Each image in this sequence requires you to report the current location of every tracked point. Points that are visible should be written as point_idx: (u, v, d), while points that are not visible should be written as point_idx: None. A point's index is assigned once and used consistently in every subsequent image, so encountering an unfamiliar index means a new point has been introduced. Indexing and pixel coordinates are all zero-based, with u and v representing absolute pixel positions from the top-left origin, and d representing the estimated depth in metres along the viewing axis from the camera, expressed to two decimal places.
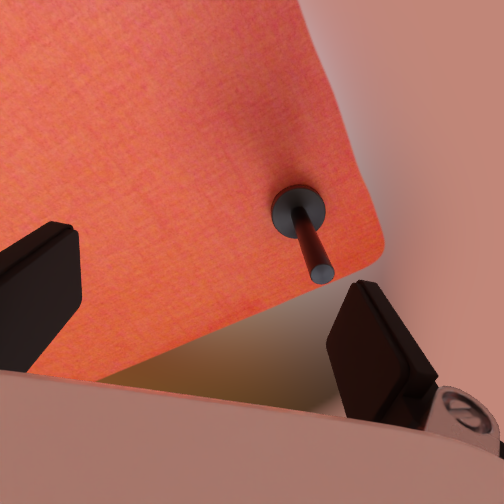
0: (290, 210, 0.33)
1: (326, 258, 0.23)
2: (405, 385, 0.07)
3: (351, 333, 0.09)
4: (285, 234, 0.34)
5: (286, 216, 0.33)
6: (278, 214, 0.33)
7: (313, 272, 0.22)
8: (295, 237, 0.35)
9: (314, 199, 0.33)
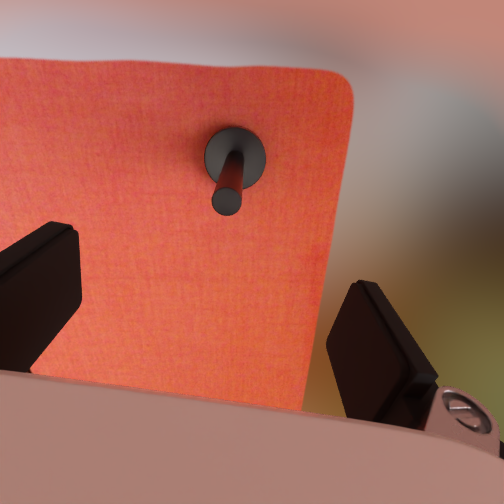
0: None
1: (219, 184, 0.19)
2: (405, 385, 0.07)
3: (351, 333, 0.09)
4: (249, 184, 0.30)
5: None
6: None
7: (218, 210, 0.18)
8: (259, 176, 0.30)
9: (226, 135, 0.28)
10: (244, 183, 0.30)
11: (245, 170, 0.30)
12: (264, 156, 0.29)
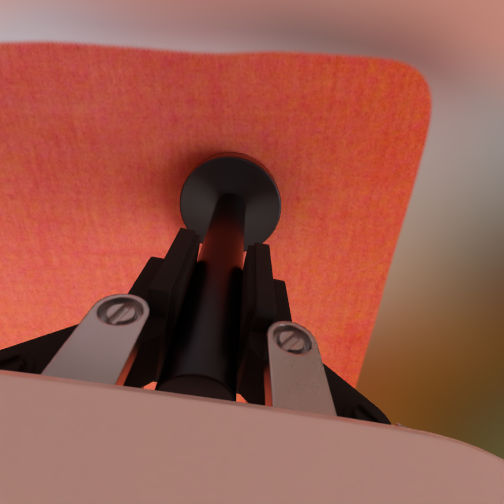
0: None
1: (179, 341, 0.07)
2: (251, 321, 0.08)
3: (241, 289, 0.10)
4: None
5: None
6: None
7: None
8: (269, 232, 0.18)
9: (216, 170, 0.17)
10: (245, 243, 0.19)
11: (247, 224, 0.18)
12: (279, 203, 0.18)
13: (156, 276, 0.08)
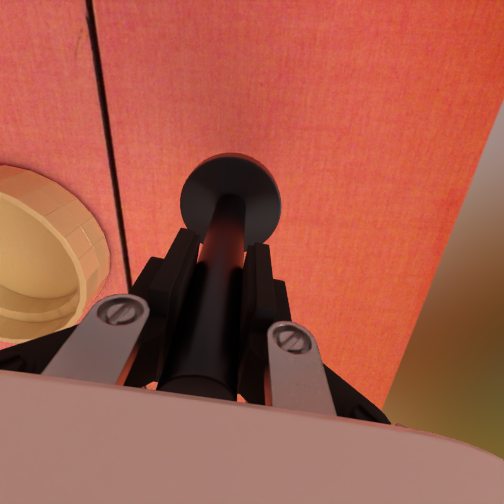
0: None
1: (180, 342, 0.07)
2: (251, 321, 0.08)
3: None
4: None
5: None
6: None
7: None
8: (269, 233, 0.18)
9: (216, 170, 0.17)
10: (246, 243, 0.19)
11: (247, 224, 0.18)
12: (279, 203, 0.18)
13: (156, 276, 0.08)
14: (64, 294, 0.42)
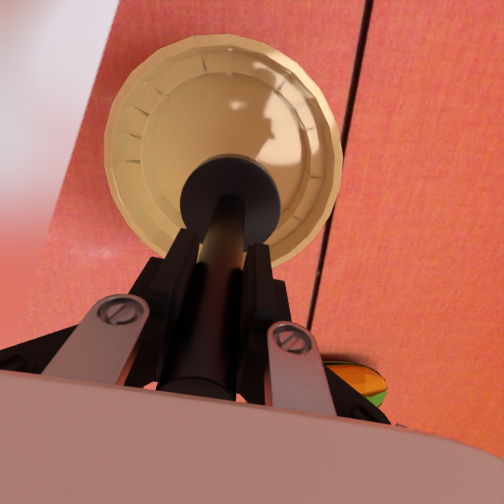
0: None
1: (179, 343, 0.07)
2: (251, 321, 0.08)
3: (241, 289, 0.10)
4: None
5: None
6: None
7: None
8: (269, 233, 0.18)
9: (216, 171, 0.17)
10: (245, 244, 0.19)
11: (247, 225, 0.18)
12: (278, 204, 0.18)
13: (156, 276, 0.08)
14: None
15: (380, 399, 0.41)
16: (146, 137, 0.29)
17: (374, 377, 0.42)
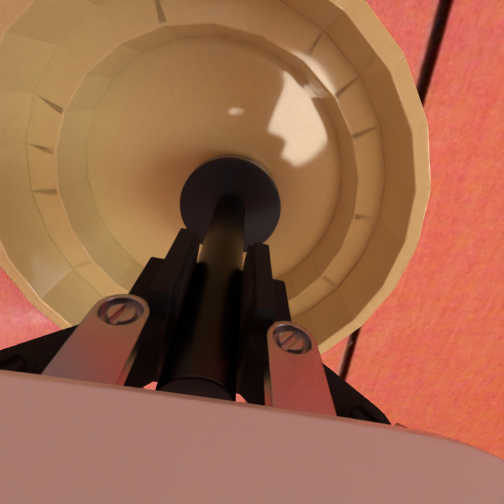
0: None
1: (179, 344, 0.07)
2: (251, 321, 0.08)
3: (241, 289, 0.10)
4: None
5: None
6: None
7: None
8: (269, 233, 0.18)
9: (216, 171, 0.17)
10: (245, 244, 0.19)
11: (247, 225, 0.18)
12: (278, 204, 0.18)
13: (156, 276, 0.08)
14: None
15: None
16: (69, 149, 0.16)
17: None
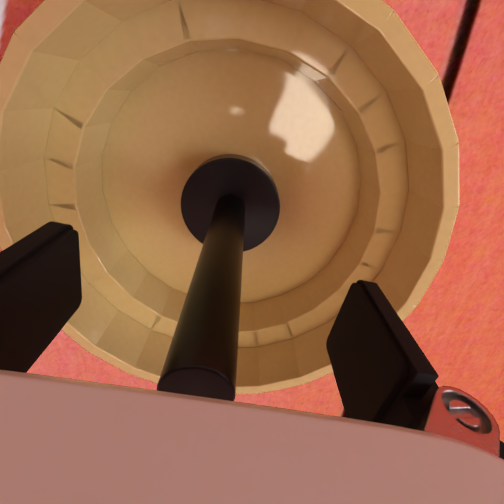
0: None
1: (181, 337, 0.07)
2: (405, 385, 0.07)
3: (351, 333, 0.09)
4: (254, 244, 0.19)
5: None
6: None
7: None
8: (268, 233, 0.19)
9: (216, 171, 0.17)
10: (245, 243, 0.19)
11: (247, 224, 0.18)
12: (278, 203, 0.18)
13: None
14: (269, 294, 0.23)
15: None
16: (86, 163, 0.16)
17: None
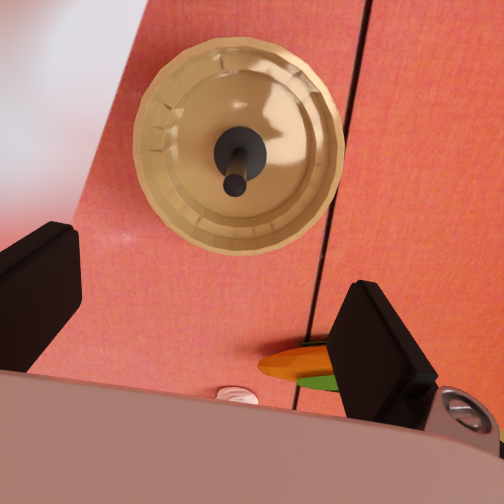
0: None
1: (229, 172, 0.23)
2: (405, 385, 0.07)
3: (351, 333, 0.09)
4: (253, 177, 0.35)
5: None
6: None
7: (228, 192, 0.23)
8: (261, 169, 0.34)
9: (233, 134, 0.33)
10: (248, 176, 0.35)
11: (249, 164, 0.34)
12: (265, 152, 0.34)
13: None
14: (262, 212, 0.38)
15: None
16: (167, 129, 0.32)
17: None
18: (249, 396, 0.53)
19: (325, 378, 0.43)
